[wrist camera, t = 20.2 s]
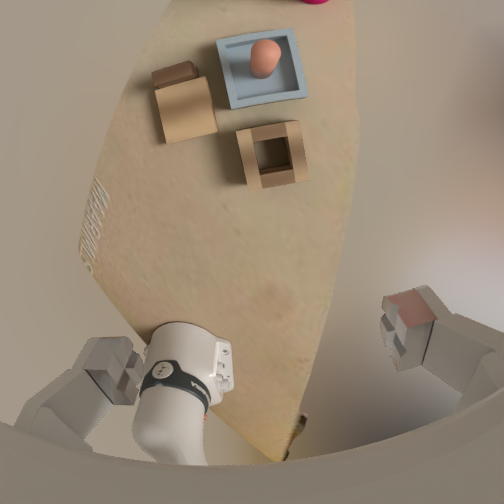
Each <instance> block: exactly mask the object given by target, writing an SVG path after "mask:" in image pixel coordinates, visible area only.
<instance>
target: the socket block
mask: <svg viewBox="0 0 504 504" xmlns="http://www.w3.org/2000/svg"><path fill="white" fill-rule="evenodd" d="M236 135H237V140H238V144H239V149H240V153H241V158H242V163H243V167H244V172H245V176H246V181H247V186H248V190H249V191H253V190H258V189H263V188H269V187H274V186H280V185H285V184H291V183H297V182H303V181H309V176H308V169H307V163H306V157H305V151H304V145H303V139H302V133H301V128H300V123H299V120H293V121H286V122H280V123H274V124H268V125H262V126H257V127H252V128H247V129H242V130H237V131H236ZM279 137H285V142H286V148H287V153H288V159H289V164H290V165H284V166H279V167H273V168H267V169H262V170H259V168H258V163H257V158H256V153H255V149H254V144H253V142H257V141H262V140H268V139H273V138H279Z"/></svg>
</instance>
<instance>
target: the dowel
mask: <svg viewBox="0 0 504 504" xmlns="http://www.w3.org/2000/svg"><path fill="white" fill-rule="evenodd" d="M280 56H281V50H280V47H279V46H278V44H277V43H275V42H274V41H272V40H268V39H263V40H259V41H257V42H256V43H254V44H253V46H252V48H251V61H250V70H251V73H252V75H253V76H254V77H256V78H258V79H266V78H268V77H269V76H271V74H272V72H273V70H274V68H275V66H276V64H277V62H278V60H279V58H280Z"/></svg>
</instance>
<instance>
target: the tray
mask: <svg viewBox="0 0 504 504" xmlns="http://www.w3.org/2000/svg"><path fill="white" fill-rule="evenodd" d="M263 39H268V40H272V41H274V42H275V43H277V44H278V46H279V47H280V50H281V56H280V58H279V60H278V62H277V64H276V66H275V68H274V70H273V72H272V74H271V76H269V77H268V78H266V79H258V78H256V77H254V76H253V75H252V73H251V70H250V61H251V48H252V46H253V44H254V43H256V42H257V41H259V40H263ZM216 44H217V48H218V52H219V57H220V61H221V66H222V70H223V74H224V79H225V83H226V88H227V92H228V97H229V101H230V106H231V109H232V110H235V109H240V108H245V107H250V106H256V105H261V104H267V103H273V102H279V101H286V100H293V99H301V98H306V97H308V96H309V95H308V90H307V86H306V81H305V76H304V72H303V67H302V63H301V59H300V54H299V50H298V46H297V42H296V38H295V34H294V30H293V28H289V29H279V30H271V31H264V32H257V33H251V34H245V35H239V36H234V37H229V38H224V39H220V40H216Z"/></svg>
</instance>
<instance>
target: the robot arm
mask: <svg viewBox="0 0 504 504" xmlns="http://www.w3.org/2000/svg"><path fill="white" fill-rule="evenodd" d="M382 309H383V311H384V312H385V313H384V315H383V316H382V317H381V320H380V330H381V336H382V339H383V342H384V344H385V346H386V347H387V348H389V349H391V350H392V351H391V356H390V357H391V359H392V361H393V363H394V365H395V367H396V370H397V371H398V372H400V371H404V370H407V369H410V368H413V367H417V366H420V365H422V367H424V368H425V369H427V370H428V371H430V372H431V373H432V374H434V375H435V376H437V377H438V378H440V379H441V380H443V381H444V382H446V383H447V384H448V385H450V386H451V387H453V388H454V389H455V390H457V391H458V392H460V393H461V394H463V395H462V396H461V398H460V400H459V402H458V403H457V405H456V407H455V409H454V411H455V413H453V414H451V415H449V416H447V417H445V418H442V419H440V420H438V421H436V422H433V423H431V424H428V425H426V426H423V427H421V428H418V429H415V430H413V431H410V432H407V433H404V434H402V435H399V436H396V437H393V438H390V439H386V440H383V441H380V442H376V443H373V444H369V445H366V446H362V447H359V448H355V449H350V450H346V451H342V452H337V453H332V454H328V455H322V456H317V457H311V458H305V459H298V460H291V461H283V462H274V463H263V464H249V465H221V466H209V465H208V463H207V461H206V458H205V455H204V451H203V421H204V420H207V419H204V417H206V416H207V415H205V414H206V412H207V409H208V408H209V406H213V405H216V404H218V403H220V402H221V401H222V398H223V393H225V392H228V391H230V390H232V389H233V388H234V375H233V362H232V349H231V343H230V342H229V341H227V340H224V339H221V338H218V337H215V336H213V335H212V334H210V333H209V332H208V331H206V330H204V329H203V328H200V327H198V326H195V325H192V324H188V323H180V322H176V323H168V324H165V325H162V326H161V327H159V328H158V329H156V330H155V332H154V333H153V335H152V338H151V342H150V344H149V345H148V346H146V347H145V349H144V355H145V356H146V359H145V364H143V361H142V359H141V357H140V355H139V354H138V353H136V352H134V351H133V350H132V349H133V344H132V342H131V341H130V339H129V338H128V337H125V336H124V337H102V338H101V337H100V338H91V339H89V340H88V341H87V343H86V344H85V346H84V348H83V350H82V351H81V353H80V355H79V357H78V358H77V360H76V362H75V364H74V365H73V367H72V369H68V370H67V371H65V372H64V373H63V374H61V375H60V376H59V377H57V378H56V379H55V380H54V381H52V382H51V383H50V384H48V385H47V386H46V387H44V388H43V389H42V390H41V391H39V392H38V393H37V394H36V395H34V396H33V397H32V398H30V399H29V400H28V401H27V402H26V403H25V405H24V407H23V409H22V411H21V413H20V415H19V416H18V418H17V421H16V423H15V425H14V426H13V427H12V426H10V425H8V424H6V423H3V422H1V421H0V504H504V333H503V332H500V331H498V330H495V329H493V328H490V327H488V326H486V325H483V324H481V323H479V322H476V321H474V320H471V319H469V318H467V317H464V316H462V315H459V314H453V315H452V313H451V312H450V311H449V310H448V308H447V307H446V306H445V305H444V303H443V302H442V301H441V300H440V299H439V297H438V296H437V295H436V294H435V293H434V292H433V290H431V288H430V287H429V286H427V285H423V286H420V287H416V288H413V289H411V290H407V291H404V292H399V293H395V294H392V295H388V296H384V297H383V300H382ZM142 379H143V382H142V383H141V387H140V393H139V396H140V401H139V405H138V408H137V411H136V414H135V417H134V421H133V425H132V434H133V437H134V439H135V441H136V442H137V444H138V445H139V446H140V447H141V449H142V450H143V451H145V452H146V453H147V454H148V455H150V456H151V457H153V458H154V459H155V460H156V461H157V462H158V463H155V462H147V461H139V460H132V459H126V458H120V457H114V456H108V455H104V454H99V453H95V452H93V449H92V447H91V446H90V445H89V444H88V443H86V442H85V441H84V439H85V438H86V437H87V436H88V435H89V433H90V432H91V431H92V430H93V429H94V428H95V427H96V426H97V425H98V423H99V422H100V421H101V420H102V419H103V418H104V417H105V416H106V414H107V413H108V412H109V411H110V410H111V409H112V408H113V407H114V405H134V404H135V401H136V397H137V394H138V391H139V390H138V387H137V385H138V384H139V383H140V382H141V381H142Z"/></svg>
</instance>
